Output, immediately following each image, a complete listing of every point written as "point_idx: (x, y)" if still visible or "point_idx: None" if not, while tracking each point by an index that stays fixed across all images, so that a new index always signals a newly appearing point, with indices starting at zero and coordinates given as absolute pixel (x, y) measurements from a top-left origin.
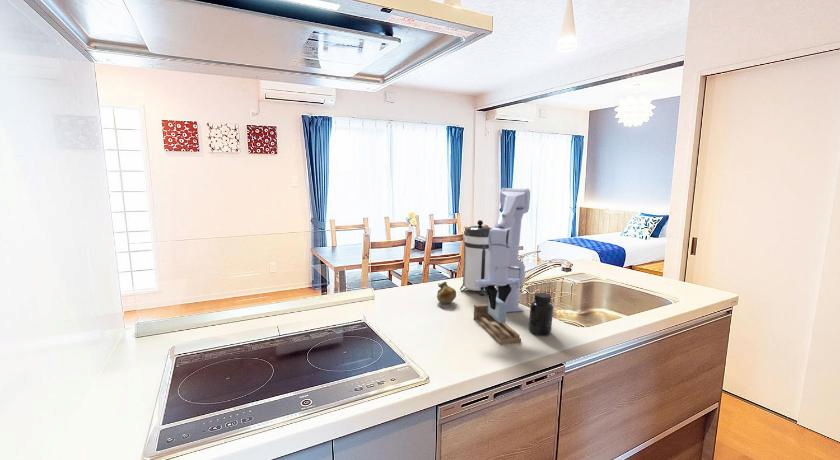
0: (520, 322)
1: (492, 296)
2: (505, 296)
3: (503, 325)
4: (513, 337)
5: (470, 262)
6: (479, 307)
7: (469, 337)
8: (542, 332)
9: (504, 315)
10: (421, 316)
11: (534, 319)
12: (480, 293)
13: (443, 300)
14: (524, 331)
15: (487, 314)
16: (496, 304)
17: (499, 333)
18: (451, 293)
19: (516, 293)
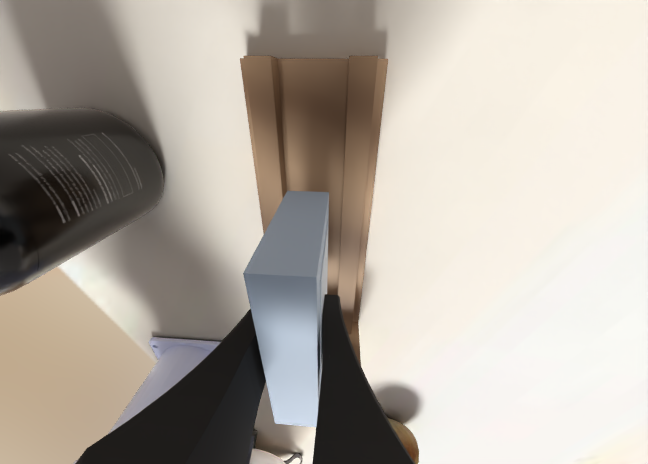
0: (185, 266)
1: (369, 400)
2: (209, 377)
3: None
4: (279, 90)
5: None
6: None
7: (485, 183)
8: (92, 112)
9: (287, 212)
10: (525, 376)
11: (80, 162)
12: (255, 438)
13: (407, 432)
14: (190, 184)
15: None
16: (319, 316)
17: (362, 115)
18: None
19: (132, 415)
